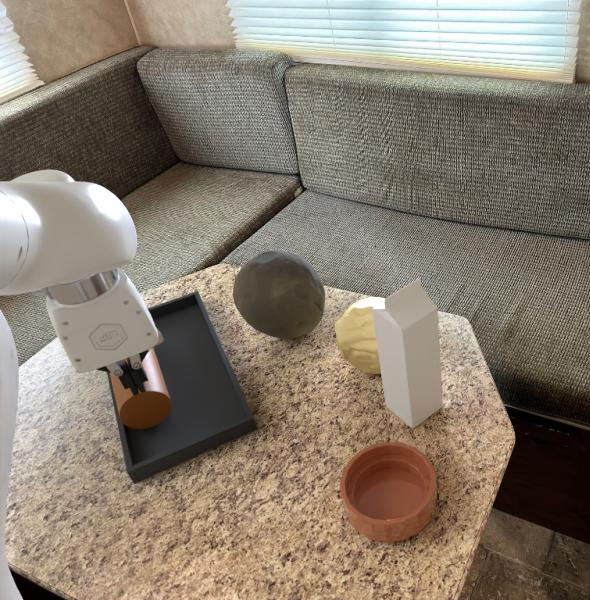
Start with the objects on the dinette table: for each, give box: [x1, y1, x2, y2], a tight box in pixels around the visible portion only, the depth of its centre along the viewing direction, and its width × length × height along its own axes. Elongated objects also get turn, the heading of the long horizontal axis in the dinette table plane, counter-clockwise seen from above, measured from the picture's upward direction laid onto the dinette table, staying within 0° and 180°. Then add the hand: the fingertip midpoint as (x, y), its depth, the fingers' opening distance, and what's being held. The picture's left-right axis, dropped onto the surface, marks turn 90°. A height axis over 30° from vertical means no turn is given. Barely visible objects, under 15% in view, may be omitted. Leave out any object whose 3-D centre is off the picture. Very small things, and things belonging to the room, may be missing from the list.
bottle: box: [110, 348, 172, 429], centre depth 93 cm, size 7×7×18 cm
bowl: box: [339, 441, 438, 543], centre depth 75 cm, size 12×12×4 cm
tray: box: [106, 290, 259, 485], centre depth 96 cm, size 18×35×3 cm, turn 28°
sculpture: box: [334, 296, 386, 375], centre depth 93 cm, size 12×12×11 cm
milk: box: [372, 278, 444, 430], centre depth 81 cm, size 6×6×22 cm
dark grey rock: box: [232, 249, 326, 340], centre depth 99 cm, size 14×14×15 cm
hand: (138, 386), depth 81 cm, fingers closed
